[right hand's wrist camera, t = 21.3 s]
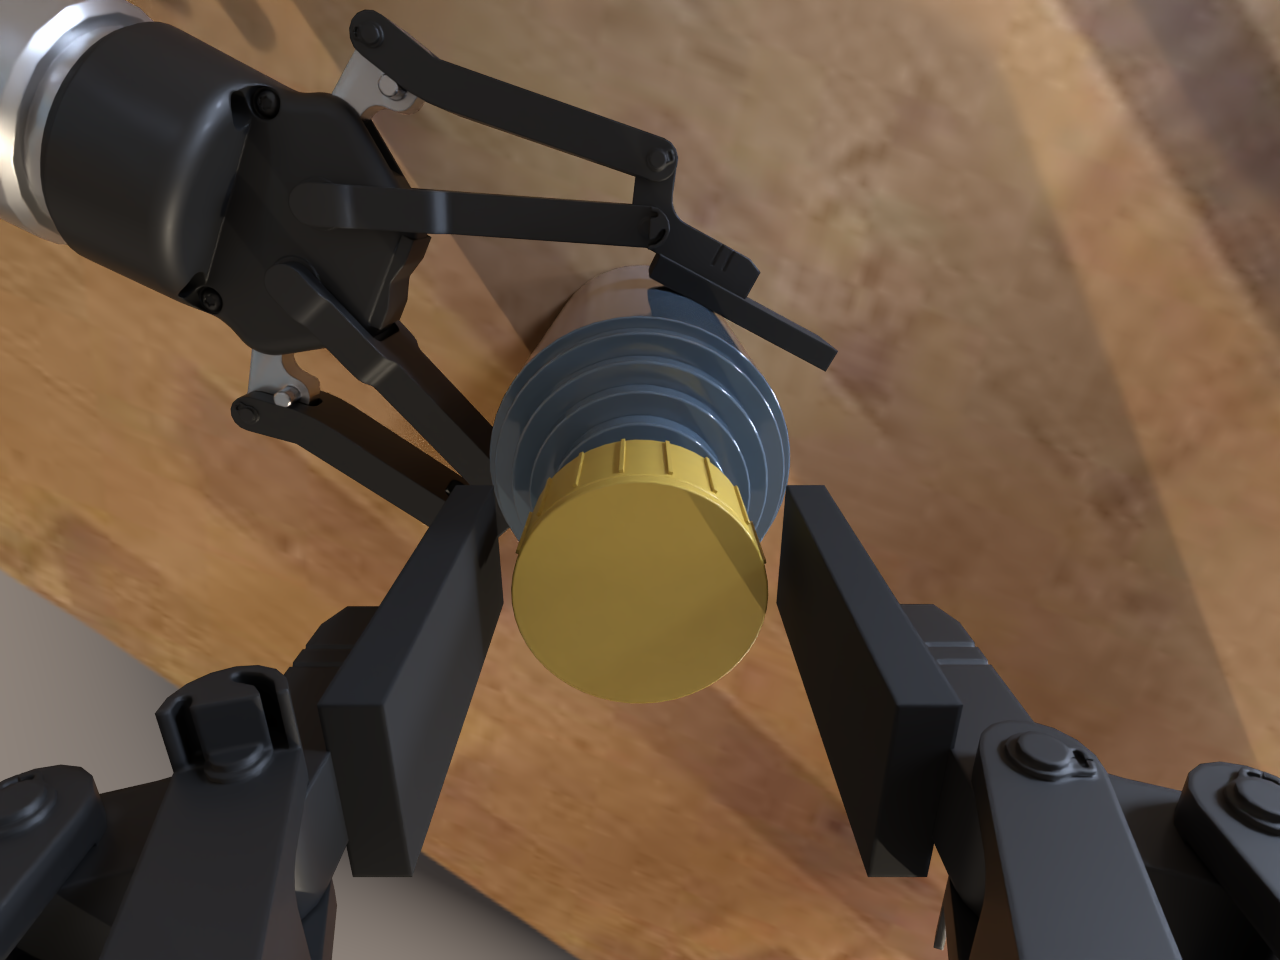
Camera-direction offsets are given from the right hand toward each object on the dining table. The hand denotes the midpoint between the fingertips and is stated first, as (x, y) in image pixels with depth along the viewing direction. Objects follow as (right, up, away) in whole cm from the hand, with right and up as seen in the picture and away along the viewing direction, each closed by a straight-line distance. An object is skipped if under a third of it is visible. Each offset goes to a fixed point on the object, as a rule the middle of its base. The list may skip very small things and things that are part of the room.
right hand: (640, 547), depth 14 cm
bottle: (0, +7, +17) cm, 18 cm away
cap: (0, -1, -2) cm, 2 cm away
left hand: (+4, +2, +11) cm, 12 cm away
